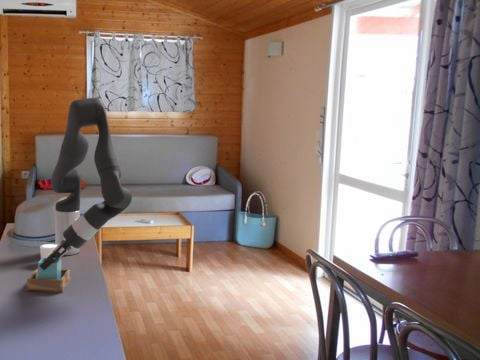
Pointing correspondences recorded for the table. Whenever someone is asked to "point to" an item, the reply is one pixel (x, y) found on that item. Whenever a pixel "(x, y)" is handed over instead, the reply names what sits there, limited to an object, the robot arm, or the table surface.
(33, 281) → the walnut crate
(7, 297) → the table surface
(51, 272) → the teal crate
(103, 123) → the robot arm
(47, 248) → the white cylinder
